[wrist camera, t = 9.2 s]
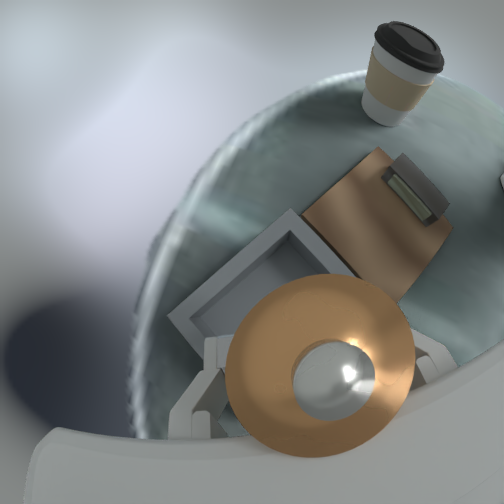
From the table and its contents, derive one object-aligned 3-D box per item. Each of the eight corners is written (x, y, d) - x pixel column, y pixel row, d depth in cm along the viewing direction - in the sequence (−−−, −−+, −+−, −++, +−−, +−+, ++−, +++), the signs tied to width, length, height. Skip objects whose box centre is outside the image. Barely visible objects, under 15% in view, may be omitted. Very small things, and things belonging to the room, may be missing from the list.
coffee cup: (386, 85, 33) (413, 16, 19) (419, 126, 32) (463, 60, 17) (342, 93, 33) (363, 12, 19) (377, 138, 31) (418, 58, 17)
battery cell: (292, 284, 18) (342, 221, 5) (336, 333, 17) (460, 368, 4) (241, 329, 17) (171, 371, 5) (285, 377, 16) (314, 501, 4)
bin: (287, 224, 30) (290, 207, 25) (378, 324, 27) (397, 326, 22) (183, 314, 28) (167, 315, 24) (275, 416, 25) (275, 435, 21)
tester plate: (374, 152, 31) (386, 133, 27) (447, 231, 28) (466, 220, 24) (300, 218, 30) (304, 203, 25) (384, 311, 27) (402, 310, 23)
